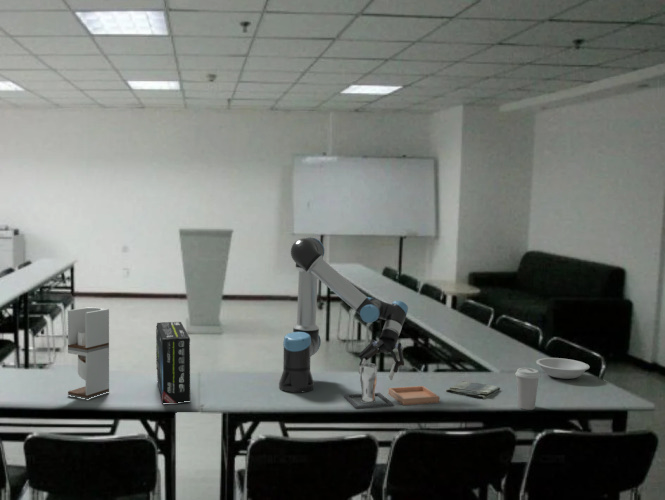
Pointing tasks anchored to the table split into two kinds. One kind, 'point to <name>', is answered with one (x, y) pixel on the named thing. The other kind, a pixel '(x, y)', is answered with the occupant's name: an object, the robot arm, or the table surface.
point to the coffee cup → (527, 387)
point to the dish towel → (474, 389)
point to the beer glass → (368, 382)
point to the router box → (173, 362)
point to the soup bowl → (562, 367)
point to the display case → (90, 349)
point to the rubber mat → (388, 403)
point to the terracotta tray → (413, 395)
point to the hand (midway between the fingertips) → (375, 376)
